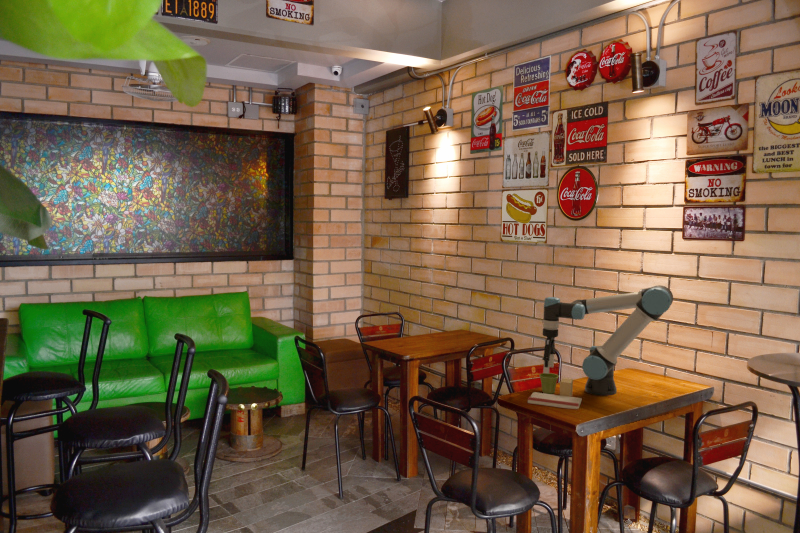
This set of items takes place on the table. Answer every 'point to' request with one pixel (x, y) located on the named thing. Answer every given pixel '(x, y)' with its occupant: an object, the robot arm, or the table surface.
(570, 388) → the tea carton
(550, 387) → the plant pot
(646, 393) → the table surface
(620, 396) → the table surface
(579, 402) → the shelf board
